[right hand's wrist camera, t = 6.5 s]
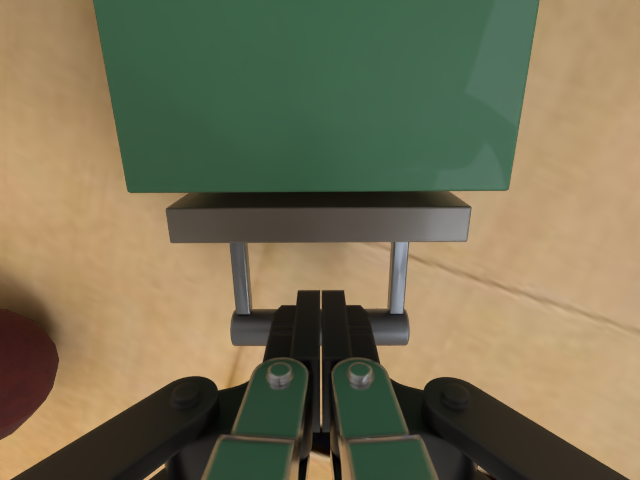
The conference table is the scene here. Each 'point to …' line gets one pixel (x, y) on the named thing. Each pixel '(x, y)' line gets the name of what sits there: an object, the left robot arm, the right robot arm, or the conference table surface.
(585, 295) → the conference table surface
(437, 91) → the cabinet
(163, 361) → the conference table surface
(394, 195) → the drawer
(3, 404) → the potato
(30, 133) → the conference table surface
